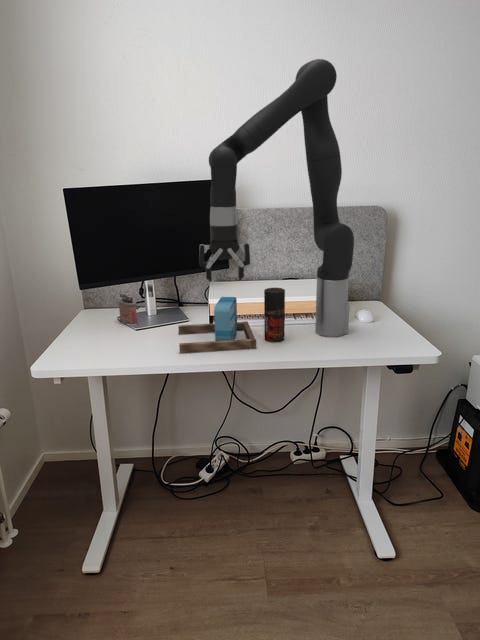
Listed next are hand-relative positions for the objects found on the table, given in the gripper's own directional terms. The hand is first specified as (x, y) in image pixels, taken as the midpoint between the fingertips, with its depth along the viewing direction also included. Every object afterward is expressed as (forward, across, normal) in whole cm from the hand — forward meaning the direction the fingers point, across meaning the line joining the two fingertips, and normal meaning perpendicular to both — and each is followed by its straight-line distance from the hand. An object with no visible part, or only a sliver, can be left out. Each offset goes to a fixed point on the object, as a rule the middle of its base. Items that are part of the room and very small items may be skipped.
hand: (224, 280), depth 146 cm
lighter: (+19, +30, -21) cm, 41 cm away
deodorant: (+18, -14, +2) cm, 23 cm away
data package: (+18, 0, 0) cm, 18 cm away
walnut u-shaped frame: (+18, +4, 0) cm, 19 cm away
